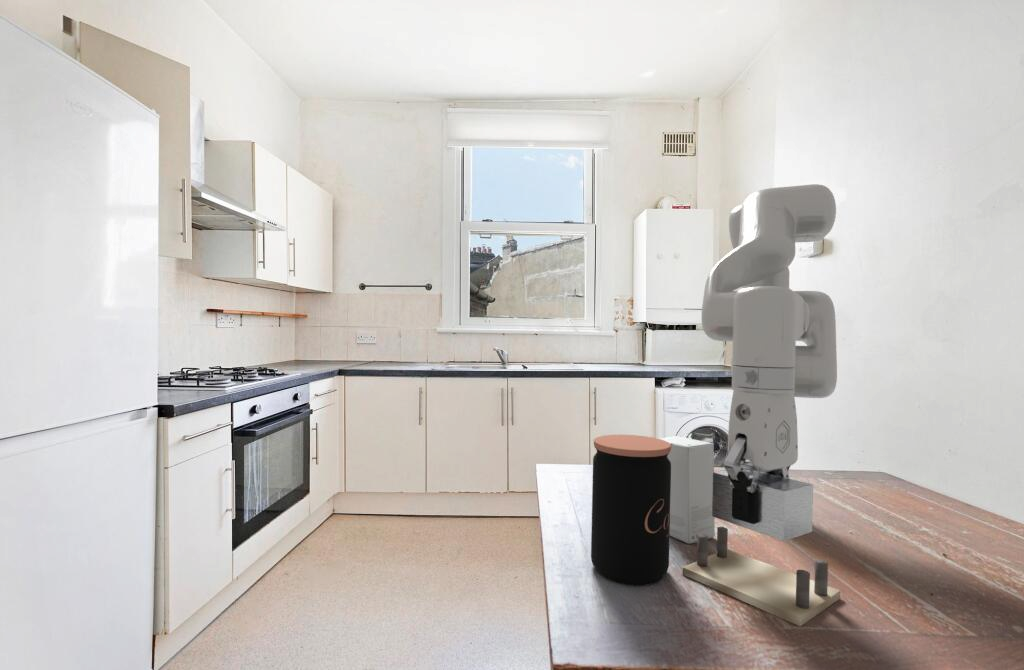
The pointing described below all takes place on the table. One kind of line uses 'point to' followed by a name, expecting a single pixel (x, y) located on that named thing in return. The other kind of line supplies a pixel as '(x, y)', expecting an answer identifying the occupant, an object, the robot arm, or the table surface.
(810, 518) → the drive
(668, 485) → the coffee jar
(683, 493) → the skincare box
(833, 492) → the table surface
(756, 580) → the cream peg board
